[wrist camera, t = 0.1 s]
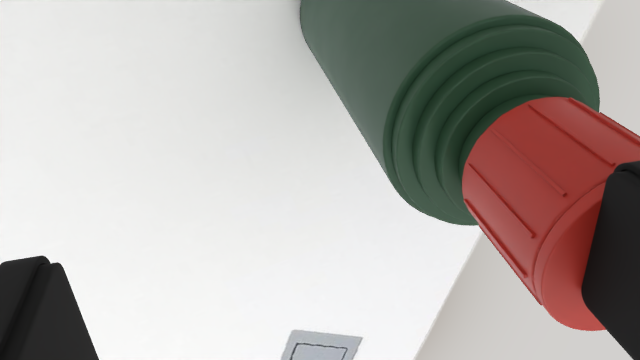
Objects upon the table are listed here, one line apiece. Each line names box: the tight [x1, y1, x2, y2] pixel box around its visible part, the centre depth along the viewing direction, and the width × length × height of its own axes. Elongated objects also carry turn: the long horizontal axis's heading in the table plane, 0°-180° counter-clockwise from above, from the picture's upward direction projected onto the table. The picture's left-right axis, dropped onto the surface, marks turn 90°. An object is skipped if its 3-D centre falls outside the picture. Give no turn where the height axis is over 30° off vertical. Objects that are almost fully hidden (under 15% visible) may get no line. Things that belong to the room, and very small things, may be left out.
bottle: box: [300, 0, 600, 225], centre depth 19 cm, size 6×6×20 cm
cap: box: [462, 97, 640, 331], centre depth 12 cm, size 4×4×4 cm
